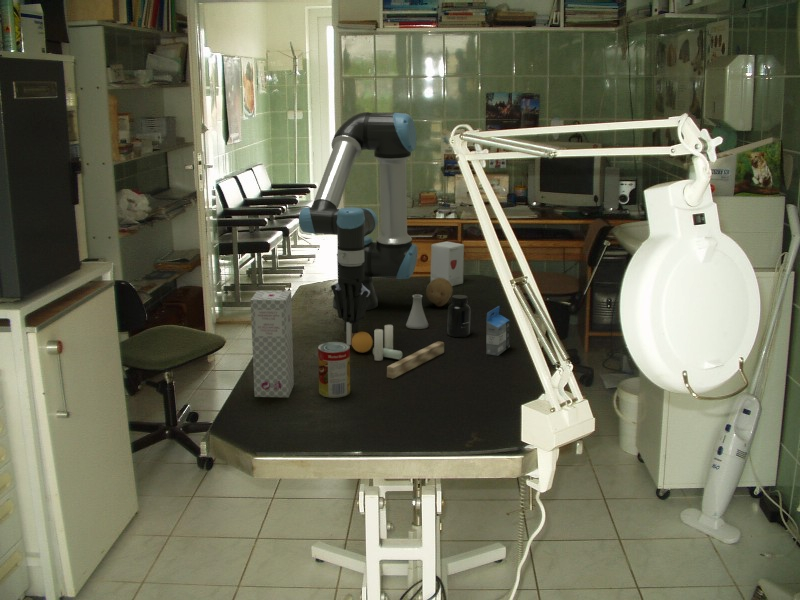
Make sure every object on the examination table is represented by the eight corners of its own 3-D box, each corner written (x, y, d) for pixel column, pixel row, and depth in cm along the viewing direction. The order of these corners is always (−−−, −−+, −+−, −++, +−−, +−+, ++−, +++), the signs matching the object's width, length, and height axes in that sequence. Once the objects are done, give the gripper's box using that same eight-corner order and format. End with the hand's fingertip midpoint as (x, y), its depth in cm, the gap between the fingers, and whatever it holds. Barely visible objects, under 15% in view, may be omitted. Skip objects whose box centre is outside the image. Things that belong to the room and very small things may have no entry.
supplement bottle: (468, 338, 265) (469, 300, 261) (445, 337, 266) (446, 298, 263) (471, 331, 271) (472, 294, 268) (449, 330, 272) (449, 293, 269)
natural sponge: (444, 311, 292) (444, 282, 290) (420, 308, 297) (421, 279, 294) (456, 305, 300) (457, 277, 297) (433, 301, 304) (433, 273, 301)
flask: (406, 330, 273) (406, 298, 270) (405, 323, 280) (405, 292, 277) (429, 329, 273) (429, 298, 271) (427, 323, 280) (428, 292, 278)
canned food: (342, 384, 227) (341, 340, 224) (355, 394, 221) (355, 348, 218) (314, 389, 224) (313, 344, 221) (326, 399, 217) (325, 353, 214)
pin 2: (387, 352, 252) (387, 324, 250) (394, 354, 251) (394, 325, 248) (382, 354, 250) (382, 326, 248) (389, 356, 249) (389, 327, 246)
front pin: (377, 345, 250) (402, 349, 245) (377, 353, 251) (402, 358, 246) (372, 348, 248) (397, 352, 244) (372, 356, 249) (397, 360, 244)
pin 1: (377, 357, 248) (377, 328, 246) (384, 358, 247) (384, 330, 244) (372, 359, 246) (372, 330, 244) (379, 361, 245) (379, 332, 242)
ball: (361, 328, 255) (376, 330, 251) (363, 348, 256) (377, 351, 252) (346, 332, 251) (361, 335, 247) (348, 353, 252) (362, 356, 248)
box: (254, 396, 219) (250, 299, 212) (261, 384, 227) (257, 290, 220) (288, 397, 219) (285, 300, 212) (293, 385, 227) (291, 291, 220)
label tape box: (498, 356, 249) (499, 314, 246) (484, 354, 251) (486, 312, 248) (509, 347, 257) (511, 307, 253) (497, 345, 259) (498, 305, 255)
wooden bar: (438, 351, 253) (438, 341, 252) (444, 352, 252) (444, 342, 251) (386, 377, 232) (386, 366, 232) (393, 378, 231) (393, 368, 231)
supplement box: (448, 287, 323) (449, 247, 319) (429, 283, 329) (430, 244, 325) (463, 283, 329) (464, 244, 325) (445, 279, 335) (446, 240, 331)
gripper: (324, 262, 248) (325, 342, 254) (361, 269, 241) (361, 350, 247) (340, 258, 254) (341, 336, 260) (377, 264, 247) (377, 344, 253)
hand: (351, 343), depth 253 cm, fingers closed
